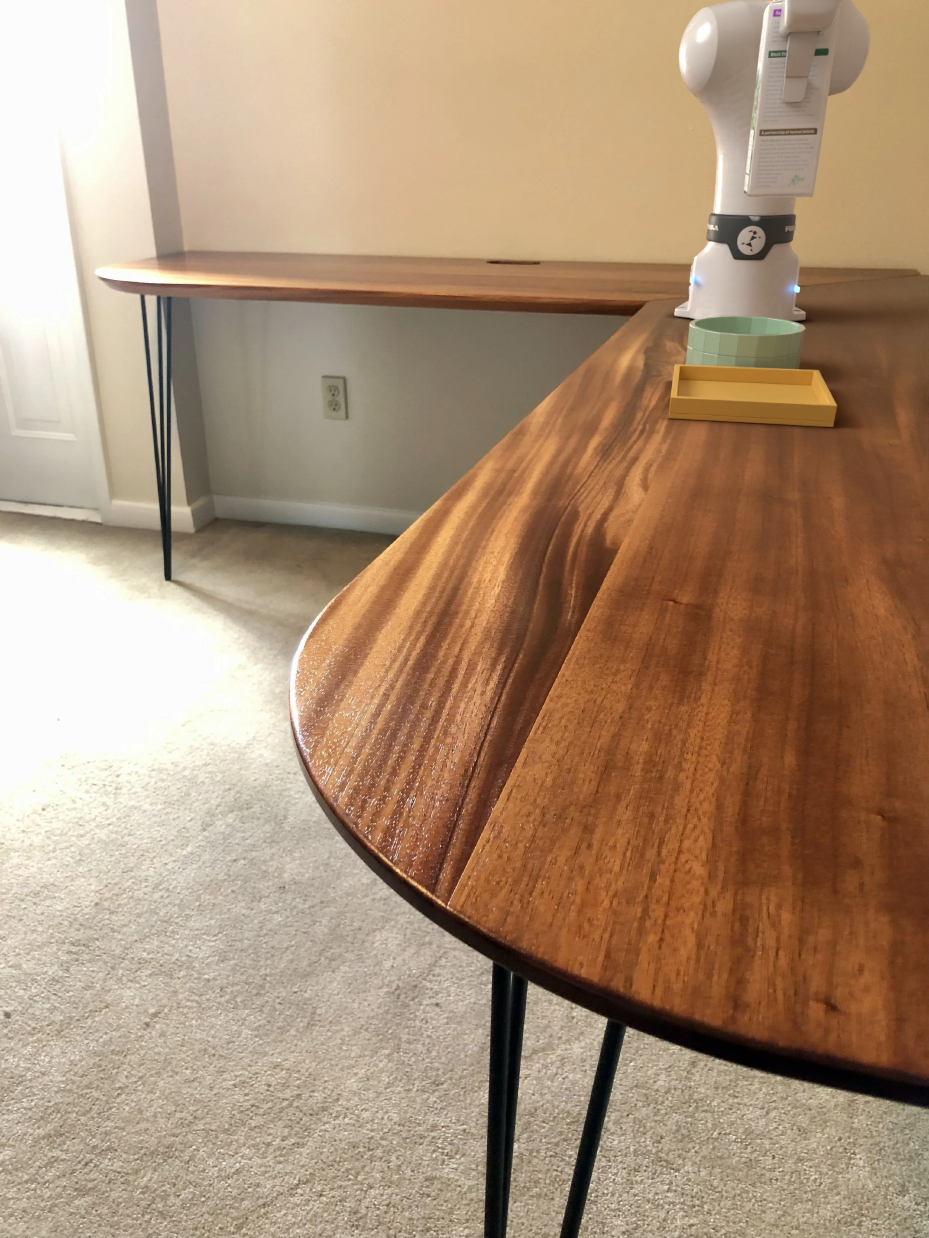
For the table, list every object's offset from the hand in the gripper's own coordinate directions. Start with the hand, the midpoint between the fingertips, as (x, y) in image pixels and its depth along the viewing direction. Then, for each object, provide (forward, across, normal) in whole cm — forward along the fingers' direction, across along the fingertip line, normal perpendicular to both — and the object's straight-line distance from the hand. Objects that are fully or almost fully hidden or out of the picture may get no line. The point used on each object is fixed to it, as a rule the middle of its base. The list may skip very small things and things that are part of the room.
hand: (788, 104), depth 76 cm
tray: (+26, 0, 0) cm, 26 cm away
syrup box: (+7, 0, 0) cm, 7 cm away
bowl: (+26, -15, 0) cm, 30 cm away
